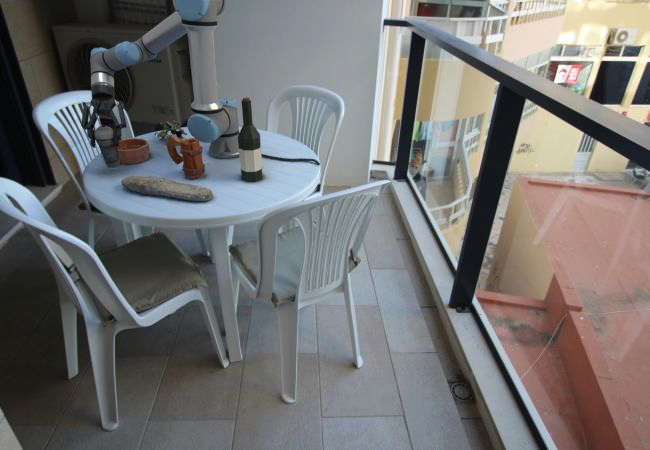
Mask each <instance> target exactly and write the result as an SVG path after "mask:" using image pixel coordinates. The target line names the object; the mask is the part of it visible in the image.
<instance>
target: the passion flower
mask: <svg viewBox="0 0 650 450" xmlns="http://www.w3.org/2000/svg"><path fill="white" fill-rule="evenodd" d="M181 125H182V124H181V122H179V121H176V120H171V122H170V121H165V123H162V122H160V126H162V131H161V130H160V132H157V131H155V132H154V133H153V136H154V137H156V136H157V138H158V139H160V138H161V140H162V142H164V138H165V137H166V140H167V141H168V139H169V137H171V136H173V135H176V136H177V137H178V138H179V139H181V140H182V139H184V137H183V135H184V136H187V135H188V133H187V132H185V130H184V129H183V128H182V127H181ZM169 132H170V134H169Z"/></svg>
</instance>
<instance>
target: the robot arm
mask: <svg viewBox="0 0 650 450" xmlns="http://www.w3.org/2000/svg"><path fill="white" fill-rule="evenodd" d="M227 1H228V0H172V4H173V7H174V10H175V11H174V12H172V14H170V15H169V16H168V17H166V18H165V19H164V20H162V21H161V22H159V23H158V24H157V25H156V26H154V27H153V28H152V29H150V30H149V31H147V32H146V33H145V34H144V35H142V36H141V37H140V38H138V39H137V40H135V41H132V42H129V41H127V40H126V41H123V42H120V43H117V44H116V45H115V46H113V47H111V48H108V49H107V48H104V47H93V49H91V51H90V59H89V62H90V87H91V88H90V89H91V91H90V92H91V99H90V101H89V102H85V101H82V102H81V104H82V114H81V121H80V127H81V128H82V129H83V130H85V131H86V136H87V138H88V139H89V141H90V142H89V143H90V144H89V145H90V146H91V147H92V148H93V149H96V140H95V136H94V133H95V129H94V128H95V126H96V123H97V121H98V119H97V117H96V114H97V115H98V117H99V116H100V115H101V114H103V113H106V114H109V115H110V117H111V119H112V121H113V122H114V125H115V126H114V127H113V131H114V143H115V145H116V146H117V147H119V141H120V138H122V137H123V135H122V129H126V128H128V126H127V120H126V116H125V112H124V110H125V109H124V108H125V104H124V102H123V101H122V100H119V101H117V100H116V98H115V97H116V95H115V93H116V92H115V73H117V72H119V71H121V70H123V69H126V68H128V67H131V66H134V65H137V64H141V63H146V62H149V61H151V60H154V59H156V57H157V55H158V54H159V53H160V52H161V51H163V50H164V49H166V48H167V47H168V46H170V45H171V44H173V43H174V42H176V41H177V40H179V39H181V38H182V37H183V36H184V35H186V34H187V41H188V51H189V58H190V59H189V60H190V62H189V63H190V70H191V71H190V72H191V79H192V82H191V83H192V90H193V101H192V103H191V104H190V114H191V115H190V116H189V117H188V120H187V123H186V127H187V130H188V133H189V135H191V137H192V138H195V139H198V140H199V143H204V144H209V147H208V152H209V155H210V156H212V157H214V158H218V159H233V158H238V157H240V156H239V145H238V135H239V133H240V127H239V125H240V124H239V114H238V113H239V112H238V105H237V100H235V99H234V98H230V97H219V94H218V93H219V92H218V80H217V65H216V51H215V50H216V49H215V35H214V31H215V29H217V27H218V16H221V14H222V13H224V11H225V10H226V7H227ZM91 107H93V108H92V113H91V116H90V110H91ZM115 107H117V109H118V114H119V119H120V122H119V120H118V118H117V116H116V115H115V112H114V110H113V109H114V108H115ZM89 117H90V118H89ZM261 157H262V158H268V159H273V160H279V161H287V162H300V161H301V162H302V161H303V162H314V163H315V164H316V165H318V166H320V165H321V163H320V162H319V161H318V160H317V159H316V158H304V157H303V158H302V157H301V158H300V157H299V158H289V157H288V158H287V157H280V156H279V157H278V156H273V155H268V154H264V153H261Z"/></svg>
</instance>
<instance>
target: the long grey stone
mask: <svg viewBox="0 0 650 450" xmlns="http://www.w3.org/2000/svg"><path fill="white" fill-rule="evenodd" d="M120 183H121V185H122V186H123V187H124V189H126V190H127V189H128V190H130V191H133V192H137V193H141V194H142V195H154V196H165V197H168V198H172V199H173V198H175V199H181V200H184V201H185V200H186V201H190V202H207V201H210V200H212V199H213V198H214V193H213V191H212V190H211V189H210V188H207V187H205V186H201V185H195V184H191V183H186V182H185V183H184V182H178V181H175V180H170V179H169V178H166V177H160V176H151V175H149V176H145V175H141V176H139V175H138V176H135V175H129V176H126V177H124V178H122V180H121V182H120Z"/></svg>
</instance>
